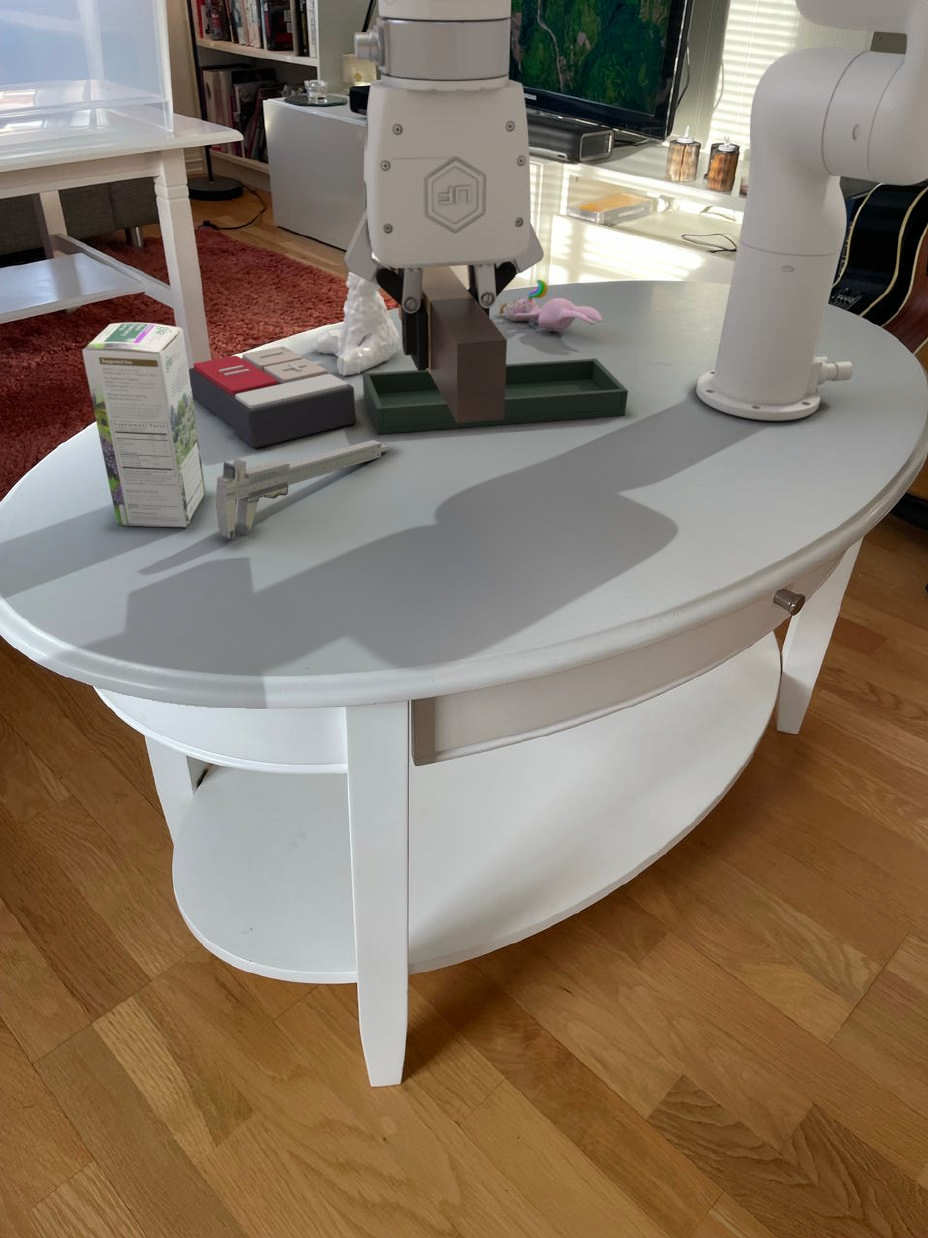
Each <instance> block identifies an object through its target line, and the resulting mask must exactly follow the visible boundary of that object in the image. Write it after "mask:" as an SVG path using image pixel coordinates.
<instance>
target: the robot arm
mask: <svg viewBox="0 0 928 1238" xmlns="http://www.w3.org/2000/svg"><path fill="white" fill-rule="evenodd" d="M377 4H378V15H379V17H376V24H374V25H373V29H367V30H366V31H365V32H362V31H360V32H358V31H357V32H354V37H353V43H354V46H353V47H354V55H355V59H356V60H357V61H360V60H361V61H362V60H363V61H366V60H368V62H369V63H374V64H375V65H376V66H377V68H378V70H379V71H380V79H375V80H372V81H371V82H370V86H369V92H368V99H367V106H366V107H367V108H366V116H365V119H366V120H365V130H364V147H363V149H364V150H363V152H364V153H363V214H362V216H361V218H360V221H359V223H358V225H357V227H356V229H355V232H354V234H353V237H352V239H351V241H350V243H349V245H348V248H347V250H346V253H344V258H343V261H344V265H345V267H346V269H347V271H348V272H351V273H354V274H356V275H358V276H360V277H362V278H364V279H366V280H368V281H370V282H373V283H375V284H377V285H379V286H380V287H381V288H380V289H382V290H383V291H384V292H385V293H386V294H387V295H388V296H389V297H390V298H391V299H392V300H393V301H395V302H396V303H397V304H398V306H399V305H400V306H401V315H402V322H401V343H402V344H401V345H402V351H403V354H404V356H410V358H411V360H412V363H414V366H415V368H416V370H418V371H426V369H428V367H429V358H428V315H427V313H426V311H425V309H424V308H423V300H422V299H421V291H422V279H423V268H425V267H443V266H449V267H459V266H460V267H461V266H466V267H467V269H466V270H467V279H468V288H467V290H468V291H469V293H470V294H471V295H472V296H473V298H474V299H475V300H476V301H477V303H478V304H479V305H480V306H481V308H482V309H483V310H484V311H485V313H486V314H487V315H488V317H489V318H490V309H491V308H492V307H494V305H495V304H496V301H497V297H498V296H499V295H500V294H501V293H502V292H503V291H504V290H505V289H506V288H507V287H508V286H509V284H510V283H512V281H513V280H514V279H515V278H516V276H517V275H518V274H521V273H524V272H525V271H527V270H529V269H530V268H532V267H533V266H535V265H536V264H538V263H540V262H541V261H542V260H543V258H544V256H545V252H544V249H543V247H542V245H541V243H540V240H539V238H538V235H537V233H536V231H535V229H534V227H533V225H532V222H531V219H532V217H531V216H532V215H531V213H532V212H531V210H532V209H531V207H532V206H531V205H532V204H531V203H532V202H531V200H532V199H531V198H532V197H531V167H530V166H531V165H530V163H531V162H530V145H529V144H530V143H529V130H528V129H529V128H528V127H529V126H528V118H527V107H526V99H525V94H524V92H525V91H524V87H523V83H521V82H518V81H515V80H513V79H510V74H509V72H510V54H511V53H510V50H511V24H512V23H511V21H512V19H511V13H512V0H378V3H377ZM795 6H796V8H797V10H798V12H799V14H800V15H801V17H803V18H804V19H805V20H806V21H807V22H810V23H813V24H815V25H817V26H822V27H827V28H835V29H841V30H851V31H864V32H878V33H893V34H902V35H903V34H904V35H906V48H905V54H904V53H893V52H880V51H874V50H870V49H858V48H857V49H856V48H846V47H835V46H834V47H833V46H810V47H809V46H808V47H803V48H797V49H794V50H791V51H789V52H787V53H785V54H783V55H781V56H780V57H778V58H777V59H776V60H774V61H773V62H772V63H771V64H770V65H769V66H768V67H767V68H766V70H765V71H764V73H763V74H762V76H761V77H760V80H759V81H758V84H757V85H756V88H755V90H754V94H753V97H752V101H751V109H750V118H749V119H750V120H749V121H750V122H749V168H748V170H749V171H748V181H747V189H746V197H745V204H744V210H743V215H742V222H741V227H740V232H739V237H738V243H737V248H736V253H735V258H734V265H733V269H732V276H731V279H730V286H729V292H728V296H727V302H726V307H725V312H724V319H723V323H722V328H721V334H720V340H719V344H718V350H717V355H716V361H715V367H714V369H711V370H708V371H706V372H704V373H703V374H702V375H700V376H699V377H698V378H697V383H696V387H695V393H696V395H697V397H698V398H699V399H700V400H701V401H702V402H703V403H705V404H706V405H708V406H709V407H711V408H713V409H715V410H716V411H720V412H723V413H725V414H728V415H732V416H736V417H739V418H744V419H749V420H757V421H767V422H769V421H770V422H779V421H781V422H783V421H792V420H798V419H802V418H806V417H808V416H810V415H812V414H814V413H815V412H816V411H817V410H818V408H819V406H820V402H821V398H822V396H821V392H820V391H819V390H818V388H817V387H818V386H822V385H823V384H824V383H825V382H826V381H827V382H828V381H829V382H830V381H831V382H839V381H848V380H850V379H851V378H852V377H853V373H854V366H853V363H852V362H851V361H849V360H847V361H835V362H831V363H830V362H829V359H828V357H827V356H816V354H817V350H818V345H819V341H820V338H821V333H822V330H823V325H824V322H825V317H826V313H827V309H828V305H829V301H830V297H831V292H832V289H833V284H834V280H835V276H836V273H837V268H838V264H839V260H840V257H841V253H842V249H843V246H844V242H845V238H846V231H847V209H846V204H845V199H844V195H843V192H842V189H841V185H840V182H839V179H838V177H846V178H851V179H856V180H862V181H868V182H874V183H879V184H880V183H881V184H886V185H892V186H893V185H895V186H911V185H916V184H919V183H921V182H923V181H926V180H927V179H928V0H795ZM372 252H373V253H374V255H375V256H376V257H377V259H378V260H379V261H380V262H379V261H377V260H376V259H374V258H372V256H371V255H372ZM381 262H382V263H381ZM393 268H395V269H396V271H395V270H394V269H393Z"/></svg>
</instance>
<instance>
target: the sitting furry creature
mask: <svg viewBox="0 0 928 1238" xmlns="http://www.w3.org/2000/svg"><path fill="white" fill-rule="evenodd" d="M371 256H372V258H374V259H376V260H377V261H379V260H378V259H377V257H376V256H375V255H374V253H373V252H372V255H371ZM379 262H380V261H379ZM381 263H382V262H381ZM345 286H346V288H347V289H348V291H347V292H348V293H347V294H346V298H347V300H345V301H344V304H343V309H342V311H343V312H344V317H343V324H342V328H341V329H336V328H333V329H329V330H326V331H325V332H322V333H320V334H317V335H316V338H317V339H316V340H317V352H318V354H323V355H328V354H329V355H334V356H336V357H338V358H337V360H336V368H337V371H338V373H339V375H340V376H343V377H345V376H353V375H357V374H358V375H359V374H360V373H362V372H364V371H366V370H368V369H371V368H373V367H375V366H378V365H380V364H382V363H384V362H387V361H389V360H391V358H392V357H393V356H394V355H395V353H396V351H397V350H398V347H399V345H400V339H401V336H400V334H399V331H398V330H397V328H396V326H395V322H394V321H393V319H391V317H390V314H389V313H388V308H387V306H386V304H385V299H384V297H383V295H381V294H380V292H379V290H380V289H382V288H381V287H380V286H379V285H377V284H375V283H373V282H370V281H368V280H366V279H364V278H362V277H360V276H358V275H356V274H354V273H351V272H350V271H348V276H347V280H346V281H345Z"/></svg>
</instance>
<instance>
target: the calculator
mask: <svg viewBox="0 0 928 1238" xmlns="http://www.w3.org/2000/svg"><path fill="white" fill-rule="evenodd" d="M188 370H189V377H190V384H191V391H192V398H193V399H195V400H196V401H197V402H199V404H201V405H203V406H204V407H205V408H206V409H208V410H209V411H210V412H212V413H213V414H214V415H216V416H217V417H219V418H220V419H222V420H223V421H224V422H225V423H227V424H228V425H230V426H231V428H232V429H233V431H234V432H235V434H236V436H237V437H238V438H240V439H241V440H242V441H244V443H246V444H248V445H249V446H250V447H252V448H259V447H260V448H261V447H264V446H269V445H272V444H277V443H280V442H285V441H288V440H292V439H293V440H294V439H297V438H300V437H305V436H308V435H312V434H315V433H320V432H324V431H328V430H331V429H332V430H333V429H337V428H341V427H344V426H345V427H346V426H348V425H353V424H355V423H356V422H357V412H356V398H355V388H354V386H352V385H351V384H349V383H348V382H347V381H345V380H343V379H341V378H339V377H337V376H335V375H333V374H331V373H329V372H327V369H326V368H324V367H322V366H320V365H319V364H317V363H314V361H311V360H309V359H307V358H303V356H302V355H300V354H298V353H297V352H295V351H293V350H292V349H289V348H288V347H285V346H282V345H281V346H276V347H271V348H266V349H261V350H255V351H251V352H246V353H242V357H239V356H238V355H231V356H226V357H220V358H215V359H210V360H205V361H200V362H195V363H193V367H191V368H188Z"/></svg>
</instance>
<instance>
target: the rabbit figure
mask: <svg viewBox="0 0 928 1238" xmlns="http://www.w3.org/2000/svg"><path fill="white" fill-rule="evenodd" d="M536 283H537V288H535V289H533V290H531V291H530V293H528V295H527V296H526V297H525V298H518V299H517V300H515V298H514V297H512V299H513V302H512V304H510V303H508V302H507V301H505V302H504V304H502V302H501V301H499V304H500V305H499V310H498V316H499V315H500V318H501V317H502V316H503V314H504V313H505V311H504V308H505V310H506V313H507V316H508V318H509V319H510V320H511V321H512V322H528V321H530V320H531V321H532V322H538V325H539V326H540V327H541V328H542V329H545V330H547V331H548V332H558V330H564V329H567V328H568V327H570V326H571V325H572V324H573V322H574V321H575V319H579V320H582V321H584V322H585V323H588V324H590V325H594V324H595V322H594V321H597V322H599V323H601V322H603V318H602V316H601V313H600V312H599V311H598V310H597V309H595V308H594V307H590V306H584V305H581V306H579V305H578V306H577V305H575V304H574V303H573V302H571V301H570V300H568V299H566V298H562V297H556V298H552V299H550V300H548V301H547V302H546V303H545V304H543V307H539V306H538V305H537V302H536V300H535V299H542V298H544V297H545V296H546V295H547V294H548V289H549V288H548V284H547V283H546V282H545V281H544V280H542V279H538V280H537V279H536ZM593 320H594V321H593Z"/></svg>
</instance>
